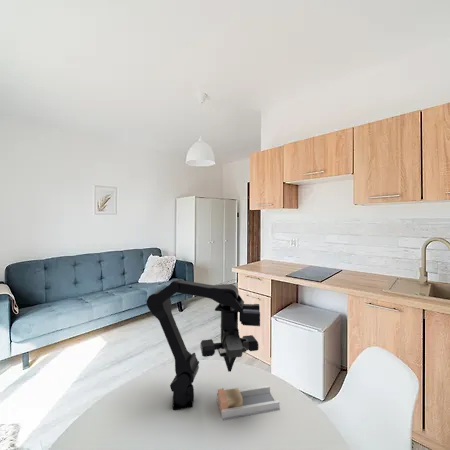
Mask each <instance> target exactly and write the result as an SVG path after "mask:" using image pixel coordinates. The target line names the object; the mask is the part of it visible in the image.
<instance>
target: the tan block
mask: <svg viewBox="0 0 450 450" xmlns="http://www.w3.org/2000/svg"><path fill="white" fill-rule="evenodd" d="M239 390H240V388H238V387H235V388H227V389H224V392H225V395H226V398H227V401H228V408H234V407H240V406H243V398H242V396H241V393H240V391H239Z"/></svg>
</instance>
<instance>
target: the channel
mask: <svg viewBox="0 0 450 450" xmlns="http://www.w3.org/2000/svg"><path fill="white" fill-rule="evenodd" d="M224 390H225V389H224V388H218V389H217V392H216V402H217V404H218V407H219V412H220V416H221V418H222V421H227V420H232V419H233V420H234V419H240V418H245V417H251V416H256V415H261V414H267V413H272V412H277V411H281V408H280V400H278V399H276V400H275V399H274V397H273V396H272V394H271V387H270V385H269V384H268V385H262V386H255V387H254V386H253V387H249V388H243V389H239V391H240V393H241V396H242V398H243V406H240V407H234V408H228V401H227V398H226V395H225V392H224Z"/></svg>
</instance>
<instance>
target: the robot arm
mask: <svg viewBox="0 0 450 450" xmlns="http://www.w3.org/2000/svg"><path fill="white" fill-rule="evenodd" d="M178 293H179V294H182V295H184V294H185V295H189V296H194V297H195V296H196V297H201V298H207V299H210V300H213V301H214V302H216V303H218V304H217V305H216V307H215V308H214V311H215V312H220V342H214V341H213V339H203V340H201V341H200V351H201V356H202V357H204V358H207V357H213V356H214V355H215V354H216V351H217V352H218V355H219V357H220V358H223V359H224V362H225V366H226V368H227V372H232V370H233V366H234V363H235V361H236V359H237V358H242V356H243V353H247V351H249V352H256V351H259V348H260V347H259V342H258V340H257V339H256V337H255V336H254V335H253V334H252V335H251V334H250V335H243V336H242V337H240V332H239V331H240V330H239V322H240V324H241V325H242V326H248V327H261V312H260V304H259V303H254V304H251V303H249V304H248V303H245V301H244V300H243V298H242V297H241V295H240V293H239V289H238V287H237V286H236V285H234V284H231V283H229V284H227V283H226V284H225V283H224V284H223V283H222V284H214V285H213V284H207V283H201V282H195V281H189V280H183V279H181V278H176V279H174V280H173V281H171V282H170V284H168V285H167V286H166V287H164V288H163V289H158V290H157V291H155V292H153V293H152V294H150V295H148V297H147V299H146V307H147V308H148V310H149V312H150V313H151V315H152V316H154V318H156V319H157V320H158V322H159V323H160V326H161V329H162V331H163V333H164V336H165V338H166V340H167V343H168V344H167V345H168V346H169V348H170V351H171V353H172V357H173V359H174V372H175V376H174V378H173V380H172V382H171V383H170V384H169V388H170V390H171V391H170V392H172V410H173V411H177V410H179V411H180V410H184V409H190V408H193V406H194V403H193V402H194V401H195V399H194V398H195V393H194V392H195V389H194V385H193V382H194V380H195V379H196V376H197V374H198V371H199V368H200V366H199V365H200V361H199V360H198V358H197V355H196V352H192V353H191V352H189V351H188V349H187V347H186V344H185V342H184V340H183V337H182V335H181V331H180V330H179V327H178V325H177V323H176V321H175V318H174V315H173V313H172V300H171V298H172V297H173V296H174V295H175V294H178Z"/></svg>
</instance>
